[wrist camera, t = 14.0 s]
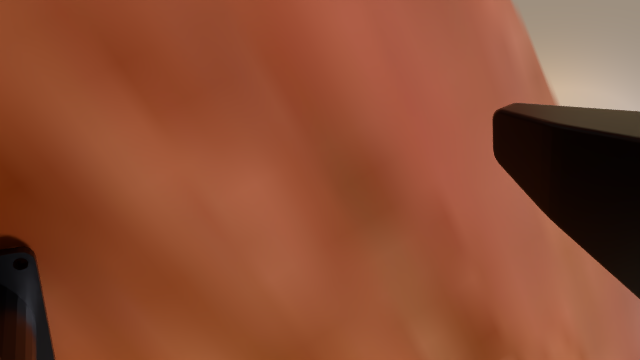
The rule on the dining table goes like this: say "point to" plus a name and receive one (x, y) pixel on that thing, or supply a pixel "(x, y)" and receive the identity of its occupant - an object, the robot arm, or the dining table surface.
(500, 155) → the robot arm
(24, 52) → the dining table surface
